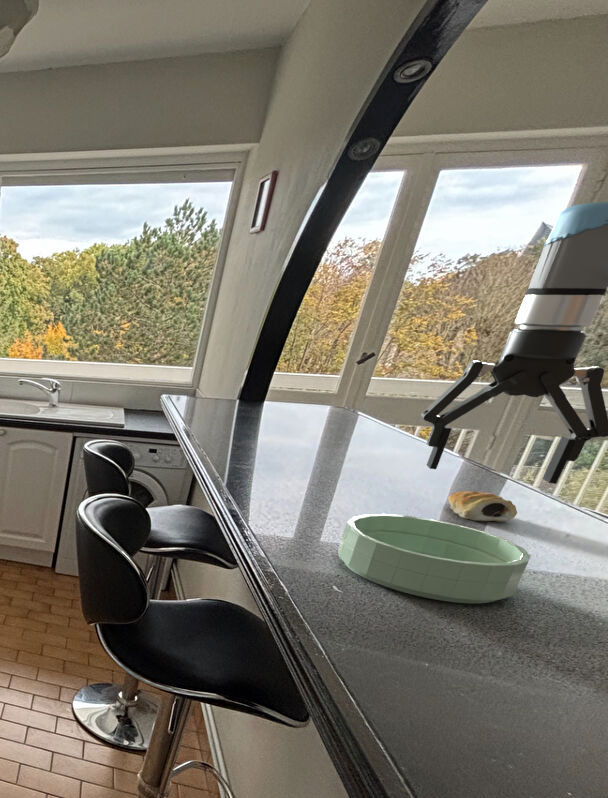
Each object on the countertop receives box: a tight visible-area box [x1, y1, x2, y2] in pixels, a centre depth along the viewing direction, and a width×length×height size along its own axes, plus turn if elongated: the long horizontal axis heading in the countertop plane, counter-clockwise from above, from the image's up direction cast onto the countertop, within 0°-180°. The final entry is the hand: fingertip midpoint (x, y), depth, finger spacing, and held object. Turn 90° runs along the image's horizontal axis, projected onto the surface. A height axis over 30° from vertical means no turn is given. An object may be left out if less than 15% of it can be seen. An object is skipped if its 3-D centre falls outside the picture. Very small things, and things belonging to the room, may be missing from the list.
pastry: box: [447, 490, 518, 522], centre depth 93 cm, size 9×7×4 cm
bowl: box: [337, 513, 532, 604], centre depth 71 cm, size 16×16×5 cm
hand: (488, 474), depth 91 cm, fingers open, 13 cm apart
